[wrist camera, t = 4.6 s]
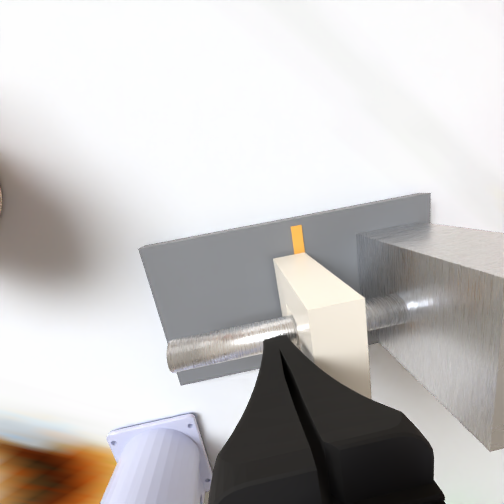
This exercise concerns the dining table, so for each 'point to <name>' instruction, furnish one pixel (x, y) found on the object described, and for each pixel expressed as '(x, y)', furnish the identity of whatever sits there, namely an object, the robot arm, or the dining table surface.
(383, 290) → the pipe stand
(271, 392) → the robot arm
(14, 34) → the dining table surface
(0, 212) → the teacup with lid
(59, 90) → the dining table surface
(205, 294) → the base plate
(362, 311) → the collar
